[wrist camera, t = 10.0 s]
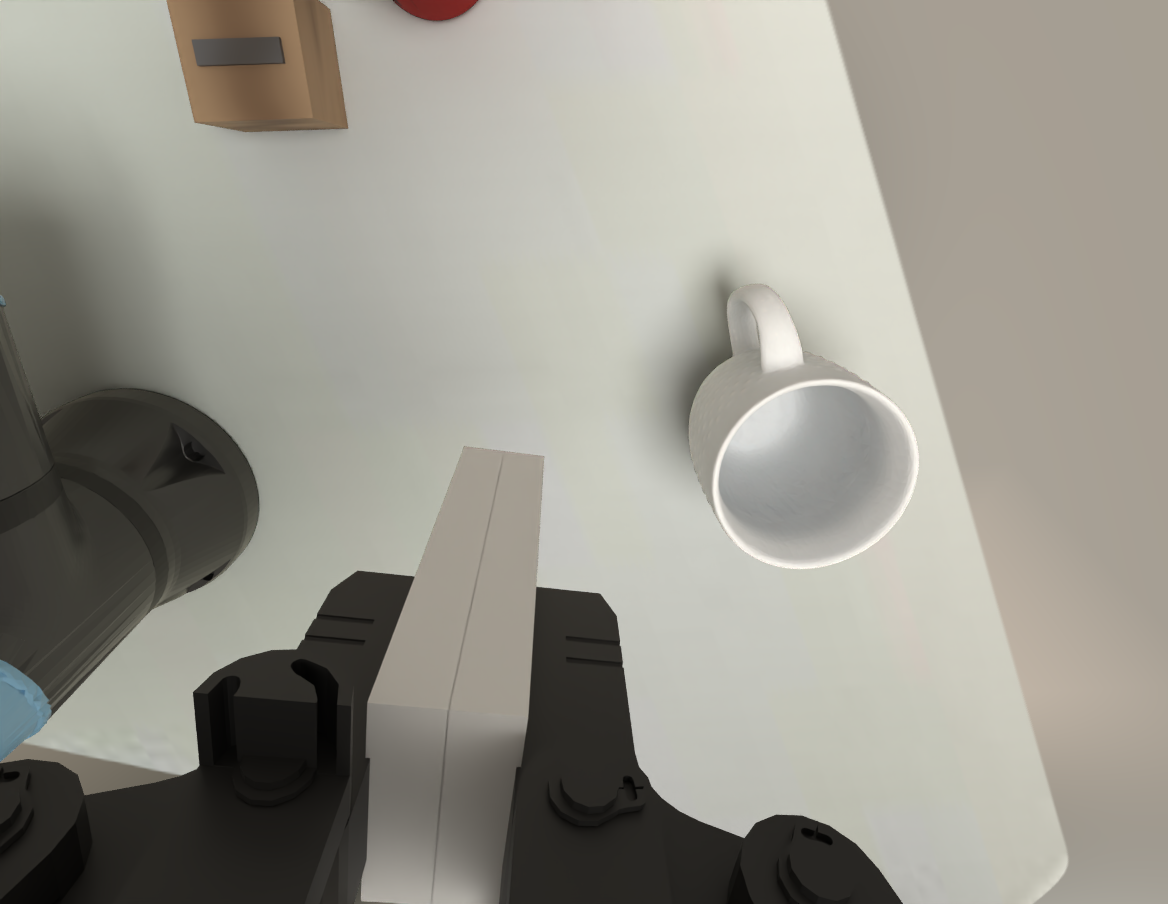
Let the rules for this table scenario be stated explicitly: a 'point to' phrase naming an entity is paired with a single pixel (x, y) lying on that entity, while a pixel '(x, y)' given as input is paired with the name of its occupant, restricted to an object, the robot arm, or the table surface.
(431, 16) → the beverage can
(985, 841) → the table surface
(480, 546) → the robot arm
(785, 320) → the mug
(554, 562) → the table surface
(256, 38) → the wooden minus sign cube
